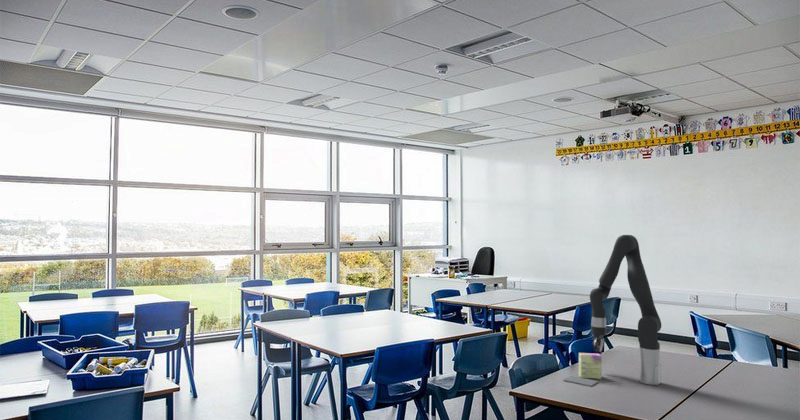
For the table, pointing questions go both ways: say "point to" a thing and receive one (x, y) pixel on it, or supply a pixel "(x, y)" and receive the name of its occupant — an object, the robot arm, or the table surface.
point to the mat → (581, 381)
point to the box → (590, 365)
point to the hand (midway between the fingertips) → (598, 358)
